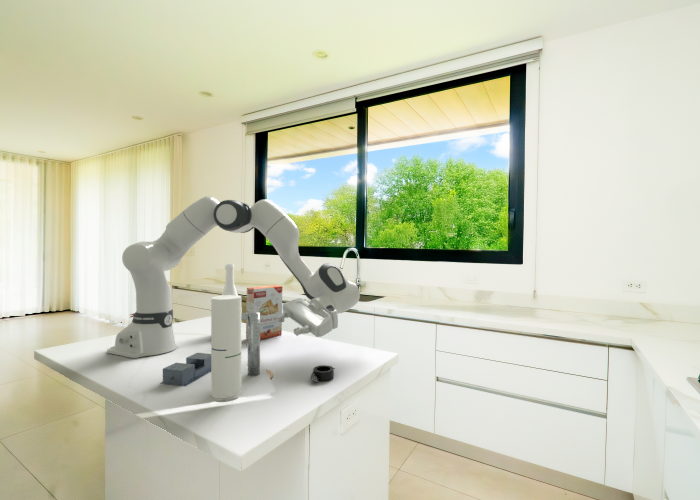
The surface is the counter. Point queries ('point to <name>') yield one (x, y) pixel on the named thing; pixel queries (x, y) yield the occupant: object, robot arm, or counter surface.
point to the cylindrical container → (225, 346)
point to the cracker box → (266, 309)
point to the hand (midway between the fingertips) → (286, 326)
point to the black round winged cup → (322, 373)
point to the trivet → (270, 373)
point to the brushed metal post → (253, 342)
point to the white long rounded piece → (230, 283)
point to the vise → (187, 370)
